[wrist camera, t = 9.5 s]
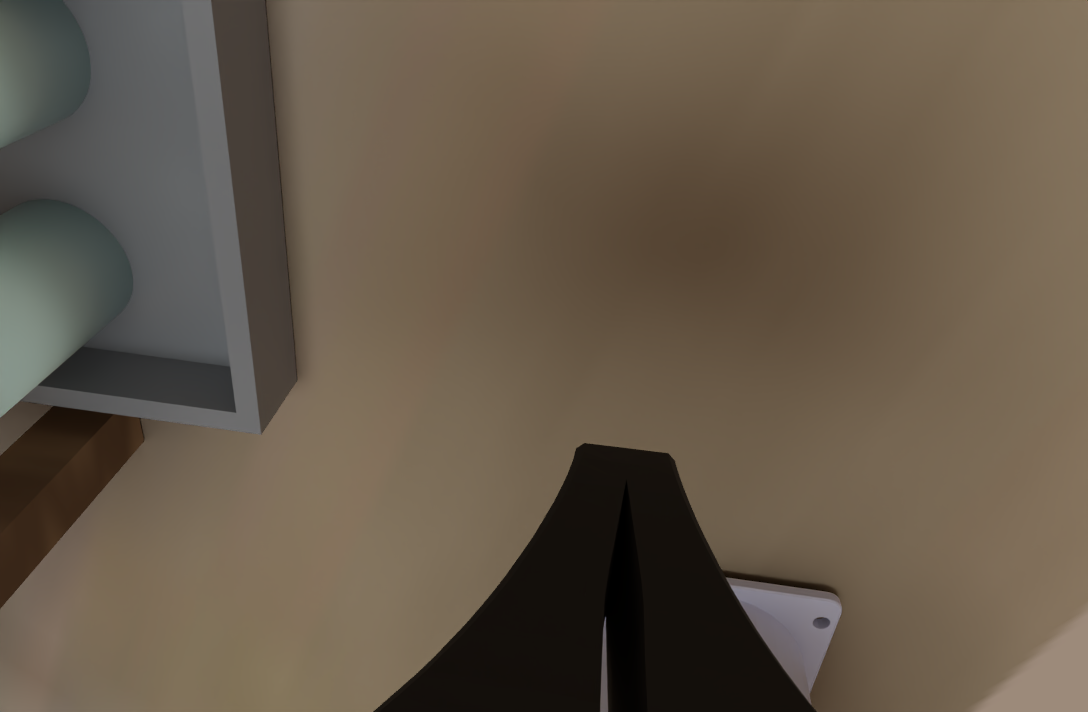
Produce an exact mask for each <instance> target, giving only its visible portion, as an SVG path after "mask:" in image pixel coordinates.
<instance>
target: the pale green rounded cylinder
mask: <svg viewBox="0 0 1088 712" xmlns="http://www.w3.org/2000/svg"><path fill="white" fill-rule="evenodd" d="M132 290H133V275H132V270H131V266H130V263H129V260H128V258H127V255H126V253H125V252H124V250H123V248H122V246H121V245H120V243H119V242H118V240H117V239H116V238H115V237H114V235H113V234H112V233H111V232H110V231H109V230H108V229H107V228H106V227H105V226H104V225H103V224H102V223H101V222H99V221H98V220H97V219H96V218H94V217H93V216H91V215H90V214H88V213H87V212H85V211H83V210H81V209H79V208H78V207H75V206H73V205H70V204H68V203H64V202H61V201H56V200H50V199H37V200H31V201H27V202H24V203H22V204H19V205H17V206H16V207H14V208H12V209H10V210H9V211H7V212H5V213H3V214H2V215H0V418H1V417H2V416H3V415H4V414H5V413H6V412H7V411H9V410H10V409H11V408H12V407H13V406H14V405H15V404H17V403H18V402H19V401H20V400H21V399H22V398H23V397H25V396H26V395H27V394H28V393H29V392H30V391H31V390H33V389H34V388H35V387H36V386H37V385H38V384H39V383H41V382H42V381H43V380H44V379H45V378H46V377H47V376H49V375H50V374H51V373H52V372H53V371H54V370H56V369H57V368H58V367H59V366H60V365H61V364H62V363H64V362H65V361H66V360H67V359H68V358H69V357H70V356H72V355H73V354H74V353H75V352H76V351H77V350H78V349H80V348H81V347H82V346H83V345H84V344H85V343H86V342H88V341H89V340H90V339H91V338H92V337H93V336H94V335H96V334H97V333H98V332H99V331H100V330H101V329H102V328H104V327H105V326H106V325H107V324H108V323H109V322H110V321H112V320H113V319H114V318H115V317H116V316H117V315H118V314H120V313H121V312H122V311H123V310H124V308H125V307H126V306H127V304H128V302H129V301H130V298H131V295H132Z"/></svg>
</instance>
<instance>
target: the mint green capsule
mask: <svg viewBox="0 0 1088 712" xmlns="http://www.w3.org/2000/svg"><path fill="white" fill-rule="evenodd" d="M90 79H91V63H90V55H89V51H88V47H87V44H86V41H85V38H84V35H83V33H82V31H81V29H80V27H79V25H78V23H77V21H76V19H75V18H74V16H73V14H72V13H71V11H70V10H69V9H68V7H67V6H66V5H65V3H64V2H63V1H62V0H0V148H2V147H5V146H7V145H9V144H11V143H13V142H15V141H18V140H20V139H22V138H24V137H26V136H28V135H31V134H33V133H35V132H37V131H39V130H41V129H44V128H46V127H48V126H50V125H52V124H54V123H57V122H59V121H61V120H63V119H65V118H67V117H68V116H70V115H71V114H73V113H74V112H75V111H76V110H77V109H78V108H79V107H80V105H81V104H82V103H83V101H84V99H85V97H86V95H87V92H88V89H89V86H90Z"/></svg>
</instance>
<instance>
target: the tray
mask: <svg viewBox="0 0 1088 712" xmlns="http://www.w3.org/2000/svg"><path fill="white" fill-rule="evenodd" d="M62 1H63V2H64V3H65V5H66V6H67V7H68V9H69V10H70V11H71V13H72V14H73V16H74V18H75V19H76V21H77V23H78V25H79V27H80V29H81V31H82V33H83V35H84V38H85V41H86V44H87V47H88V51H89V55H90V63H91V79H90V86H89V89H88V92H87V95H86V97H85V99H84V101H83V103H82V104H81V105H80V107H79V108H78V109H77V110H76V111H75V112H74V113H73V114H71V115H70V116H68V117H67V118H65V119H63V120H61V121H59V122H57V123H54V124H52V125H50V126H48V127H46V128H44V129H41V130H39V131H37V132H35V133H33V134H31V135H28V136H26V137H24V138H22V139H20V140H18V141H15V142H13V143H11V144H9V145H7V146H5V147H2V148H0V215H2V214H3V213H5V212H7V211H9V210H10V209H12V208H14V207H16V206H17V205H19V204H22V203H24V202H27V201H31V200H37V199H50V200H56V201H61V202H64V203H68V204H70V205H73V206H75V207H78V208H79V209H81V210H83V211H85V212H87V213H88V214H90V215H91V216H93V217H94V218H96V219H97V220H98V221H99V222H101V223H102V224H103V225H104V226H105V227H106V228H107V229H108V230H109V231H110V232H111V233H112V234H113V235H114V237H115V238H116V239H117V240H118V242H119V243H120V245H121V246H122V248H123V250H124V252H125V253H126V255H127V258H128V260H129V263H130V266H131V270H132V275H133V290H132V295H131V298H130V301H129V302H128V304H127V306H126V307H125V308H124V310H123V311H122V312H121V313H120V314H118V315H117V316H116V317H115V318H114V319H113V320H112V321H110V322H109V323H108V324H107V325H106V326H105V327H104V328H102V329H101V330H100V331H99V332H98V333H97V334H96V335H94V336H93V337H92V338H91V339H90V340H89V341H88V342H86V343H85V344H84V345H83V346H82V347H81V348H80V349H78V350H77V351H76V352H75V353H74V354H73V355H72V356H70V357H69V358H68V359H67V360H66V361H65V362H64V363H62V364H61V365H60V366H59V367H58V368H57V369H56V370H54V371H53V372H52V373H51V374H50V375H49V376H47V377H46V378H45V379H44V380H43V381H42V382H41V383H39V384H38V385H37V386H36V387H35V388H34V389H33V390H31V391H30V392H29V393H28V394H27V395H26V396H25V397H23V398H22V399H21V400H20V401H23V402H30V403H38V404H45V405H52V406H59V407H66V408H74V409H81V410H88V411H95V412H102V413H110V414H117V415H124V416H131V417H138V418H146V419H153V420H160V421H167V422H174V423H181V424H189V425H196V426H203V427H210V428H217V429H225V430H232V431H239V432H246V433H253V434H262V433H263V431H264V430H265V428H266V427H267V425H268V424H269V422H270V421H271V419H272V418H273V416H274V415H275V413H276V412H277V410H278V409H279V407H280V406H281V404H282V403H283V401H284V400H285V398H286V397H287V395H288V394H289V392H290V391H291V389H292V388H293V386H294V385H295V383H296V382H297V374H296V362H295V350H294V338H293V326H292V314H291V303H290V291H289V279H288V267H287V255H286V243H285V231H284V219H283V207H282V195H281V183H280V171H279V159H278V147H277V135H276V124H275V112H274V100H273V88H272V76H271V64H270V52H269V40H268V28H267V16H266V4H265V0H62Z"/></svg>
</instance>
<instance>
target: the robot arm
mask: <svg viewBox="0 0 1088 712" xmlns="http://www.w3.org/2000/svg"><path fill="white" fill-rule="evenodd" d="M841 613H842V606H841V602H840V600H839V598H838V596H836V595H835V594H833V593H830V592H825V591H818V590H811V589H804V588H797V587H790V586H783V585H776V584H769V583H762V582H755V581H748V580H741V579H734V578H727V577H725V575H724V574H723V572H722V570H721V568H720V566H719V564H718V562H717V560H716V558H715V556H714V554H713V552H712V550H711V548H710V546H709V544H708V542H707V541H706V539H705V537H704V535H703V532H702V530H701V528H700V526H699V524H698V522H697V519H696V517H695V515H694V512H693V510H692V508H691V505H690V503H689V501H688V498H687V496H686V493H685V491H684V488H683V485H682V482H681V480H680V477H679V474H678V471H677V467H676V464H675V461H674V459H673V458H672V457H671V456H670V455H669V453H661V452H652V451H644V450H636V449H628V448H620V447H612V446H603V445H595V444H587V443H584V444H583V445H581V446H579V447H578V448H576V451H575V455H574V459H573V462H572V465H571V467H570V470H569V472H568V475H567V477H566V479H565V481H564V483H563V485H562V487H561V489H560V491H559V493H558V495H557V497H556V499H555V501H554V503H553V504H552V506H551V508H550V510H549V511H548V513H547V515H546V516H545V518H544V520H543V521H542V523H541V525H540V526H539V528H538V530H537V531H536V533H535V535H534V536H533V538H532V539H531V541H530V542H529V544H528V545H527V546H526V548H525V549H524V551H523V552H522V553H521V555H520V556H519V558H518V559H517V561H516V562H515V563H514V565H513V566H512V568H511V569H510V570H509V572H508V573H507V575H506V576H505V577H504V579H503V580H502V581H501V582H500V584H499V585H498V586H497V588H496V589H495V590H494V591H493V593H492V594H491V595H490V596H489V598H488V599H487V600H486V601H485V602H484V604H483V605H482V606H481V607H480V608H479V609H478V611H477V612H476V613H475V614H474V615H473V616H472V617H471V619H470V620H469V621H468V622H467V623H466V624H465V625H464V626H463V627H462V629H461V630H460V631H459V632H458V633H457V634H456V635H455V636H454V637H453V638H452V639H451V640H450V641H449V642H448V643H447V644H446V645H445V646H444V647H443V648H442V649H441V651H440V652H439V653H438V654H437V655H436V656H435V657H434V658H433V659H432V660H431V661H429V662H428V663H427V664H426V665H425V666H424V667H423V668H422V669H421V670H420V671H419V672H418V673H417V674H416V675H415V676H414V677H412V678H411V679H410V680H409V681H408V682H407V683H406V684H404V685H403V686H402V687H401V688H400V689H399V690H398V691H396V692H395V693H394V694H393V695H392V696H391V697H390V698H388V699H387V700H386V701H385V702H384V703H383V704H382V705H380V706H379V707H378V708H377V709H376V710H375V711H374V712H817V711H816V710H815V709H814V708H813V707H812V705H811V699H810V692H811V690H812V687H813V684H814V682H815V679H816V677H817V674H818V672H819V669H820V667H821V664H822V662H823V659H824V657H825V654H826V651H827V649H828V646H829V644H830V641H831V639H832V636H833V634H834V631H835V629H836V626H837V624H838V621H839V619H840V616H841ZM818 617H824V618H822V619H816V618H818Z"/></svg>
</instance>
